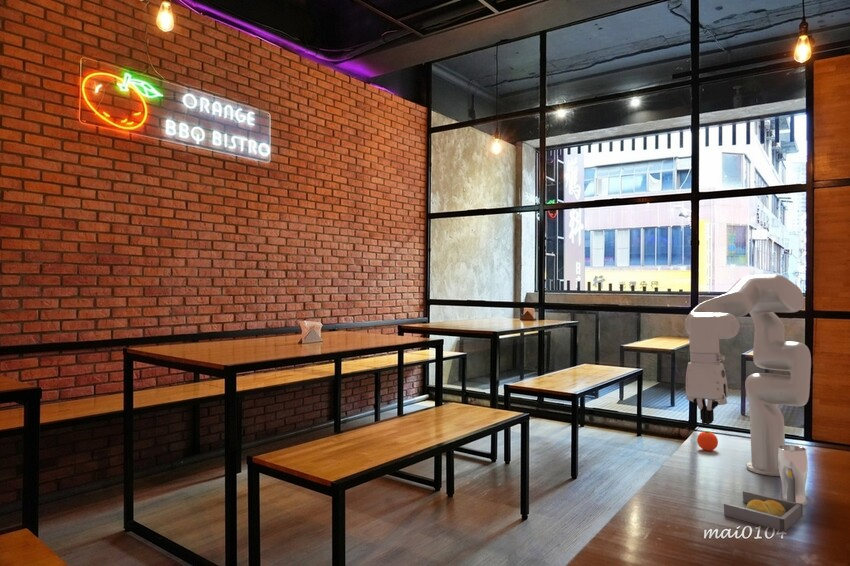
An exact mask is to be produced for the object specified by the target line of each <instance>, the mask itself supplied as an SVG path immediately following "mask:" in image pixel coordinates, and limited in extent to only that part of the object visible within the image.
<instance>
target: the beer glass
mask: <svg viewBox="0 0 850 566" xmlns="http://www.w3.org/2000/svg"><path fill="white" fill-rule="evenodd" d="M808 460H809V459H808V454H807V448H805V447H803V446H801V445H800V446H799V445H794V444H785V445H779V446H778V467H779V472H780V476H779V477H780V481H781V486H782V490H781V491H782V492H781V497H780V499H783V500H787V501H791V502H796V503H800V504H802V507H803V506H804V505H805V506H807V505H808V500H807V495H806V486H807V478H808V470H809V463H808Z"/></svg>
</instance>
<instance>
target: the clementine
mask: <svg viewBox="0 0 850 566" xmlns="http://www.w3.org/2000/svg"><path fill="white" fill-rule="evenodd" d="M696 442H697V445H698V446H699V448H700V449H702V450H703V451H706V450H707V451H706V452H710V451H714V450H715V449H717V447H718V444H719V440H718V437H717V436H716V435H715V434H714V433H713V432H711V431H709V430H706V431H702V432H700V433H699V434H698V435H697V437H696Z"/></svg>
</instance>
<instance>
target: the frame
mask: <svg viewBox="0 0 850 566" xmlns="http://www.w3.org/2000/svg"><path fill="white" fill-rule="evenodd" d="M756 499H757V500H761V501H763V502H764V501H767V500H773V501H776V502H778V503H780V504H781V505H782V506H783V507H784V509H785V511H786V513H785V514H784V515H783V516H782V517H779V516H775V515H771V514H767V513H763V512H759V511H755V510H751V509H748V508H746V507H743V506H739V505H736V504H731V503H727V502H724V503H723V516H725V517H729V518H733V519H737V520H741V521H744V522H747V523H752V524H755V525H758V526H762V527H765V528H766V527H767V528H769V527H771V528H770V529H773V528H774V529H773V530H776V531H781V532H786V531H788V529H789V528H790V527H792V526H793V525H794V524H795V523H796V522H797V521H798V520H799V519H801V518H802V517H803V516H804V514H803V511H804V510H803V506H802V504H800V503H796V502H791V501H787V500H783V499H781V498H778V497H774V496H769V495H765V494H761V493H756V492H753V491H749V490H743V491H742V502H743V503H746V504H748V503H749V502H750V501H751V500H756Z"/></svg>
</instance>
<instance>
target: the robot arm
mask: <svg viewBox="0 0 850 566" xmlns="http://www.w3.org/2000/svg"><path fill="white" fill-rule="evenodd" d="M804 303H805V297H804V294H803V292H802V290H801V288H800V287H799V286H798V285H796V283H794V282H792V281H791V280H790V279H788V278H787V277H785V276H783V275H780V274H753V275H745V276H743V277H741V278H739V280H737V281H736V283H734V285H732V286H731V288H730V289H729V290H728V291H727V292H726V293H723V294H721V295H718V296H716V297H713V298H710V299H707V300H705V301H703V302H701V303H699V304H697V305H695V307H694V308H693V309H692V310H691V311H690V312H689V314H688V315H687V316H686V318H685V322H684V328H685V331H686V333H687V334H688V335H689V340H688V341H689V360H690V361H689V362H687V367H686V372H685V373H686V374H685V393H686V400H687V401H690V402H692V403H694V404H695V405H696V406H697V408H698V409H699V413H700V420H701V424H704V425H711V424H712V423H713V421H715V420H714V419H715V418H714V415H715V414H714V410H715V409H716V408H717V407H718V406H724V405H727V404H728V399H727V398H728V397H729V388H728V379H727V374H726V369H725V365H724V363H721V361H725V360H726V356H725V355H722V354H721V352H720V340H730V339H733V338H734V337H736V336H737V335H738V333H739V332H740V329H741V324H740V321H739V319H738V318H743V317H744V316H747V315H748V314H749V316H750V317H751V319H752V321H753V322H752V323H753V325H754V338H753V350H752V361H753V363H754V365H755V366H756V367H758V368H760V369H764V370H773V371H784V372H789V373H790V375H789V374H788V375H787V374H778V373H771V372H770V373H768V372H755V373H752V374H749V375H748V376H747V377H746V379H745V382H744V384H745V385H744V386H745V387H744V388H745V392H746V397H747V400H748V402H747V403H748V407H749V424H750V425H749V432H750V455H751V456H750V458H751V461H749V462H747V463H746V464H745V466H746V469H747V470H748V471H750V472H753V473H755V474H759V475H764V476H770V477H771V476H772V477H780V472H779V467H778V446H779V445H786V441H785V440H786V437H785V418H784V417H785V416H784V415H783V413H782V411H781V409H780V408H779V406H778V405H781V406H782V405H783V406H789V407H790V406H791V407H797V408H799V407H804V406H805V405H807V403H808V402H809V398H810V389H811V385H810V384H811V372H812V371H811V368H812V357H811V351H810V349H809V347H808V345H806V344H805V343H803V342H798V341H786V340H785V335H786V334H785V333H786V332H785V331H786V330H785V329H786V327H785V324H784V323H783V322H782V319H780V317H779V316H778V315H777V314H776V313H788V314H789V313H797V312H799V311H800V310H801V309H802V308H803V306H804ZM706 400H707V401H706Z"/></svg>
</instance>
